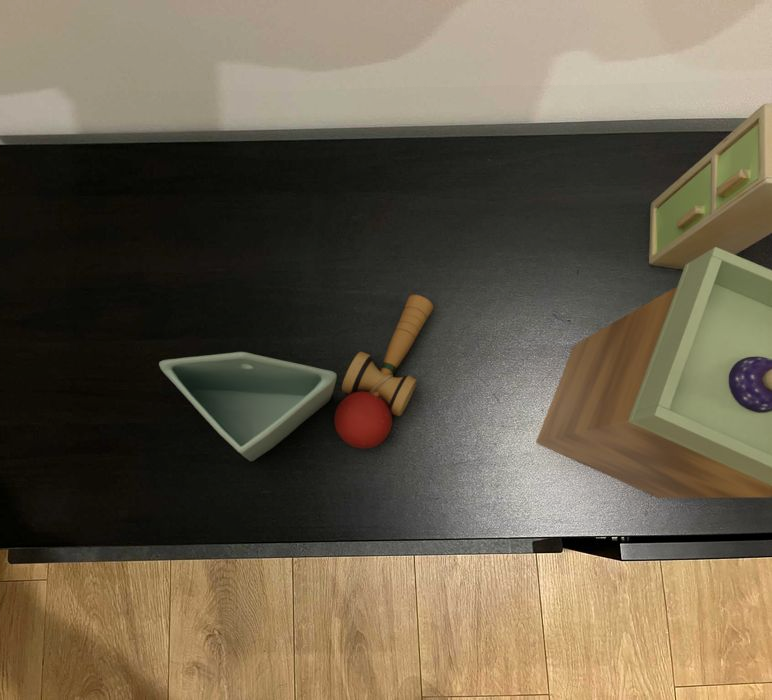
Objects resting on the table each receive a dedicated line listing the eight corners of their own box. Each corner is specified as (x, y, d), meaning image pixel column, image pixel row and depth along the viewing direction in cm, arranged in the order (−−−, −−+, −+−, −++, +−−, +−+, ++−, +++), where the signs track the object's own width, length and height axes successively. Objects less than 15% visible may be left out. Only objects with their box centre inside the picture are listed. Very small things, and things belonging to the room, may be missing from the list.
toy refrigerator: (643, 200, 81) (758, 99, 61) (705, 208, 81) (842, 110, 61) (640, 264, 80) (757, 183, 59) (704, 273, 79) (844, 194, 59)
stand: (693, 397, 76) (866, 351, 53) (658, 498, 74) (822, 497, 51) (574, 344, 78) (691, 277, 54) (535, 442, 75) (641, 416, 52)
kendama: (379, 293, 80) (310, 430, 74) (398, 274, 74) (325, 421, 68) (436, 326, 81) (372, 464, 75) (460, 310, 75) (393, 458, 69)
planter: (175, 456, 75) (131, 440, 55) (183, 383, 76) (143, 344, 57) (327, 466, 75) (335, 454, 55) (331, 393, 76) (341, 357, 57)
